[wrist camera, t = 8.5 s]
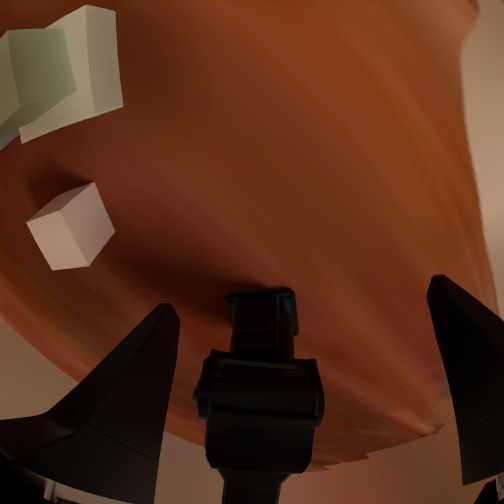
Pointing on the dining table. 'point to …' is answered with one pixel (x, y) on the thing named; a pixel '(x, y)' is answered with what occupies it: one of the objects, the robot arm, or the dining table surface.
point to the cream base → (85, 71)
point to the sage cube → (32, 75)
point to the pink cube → (72, 228)
